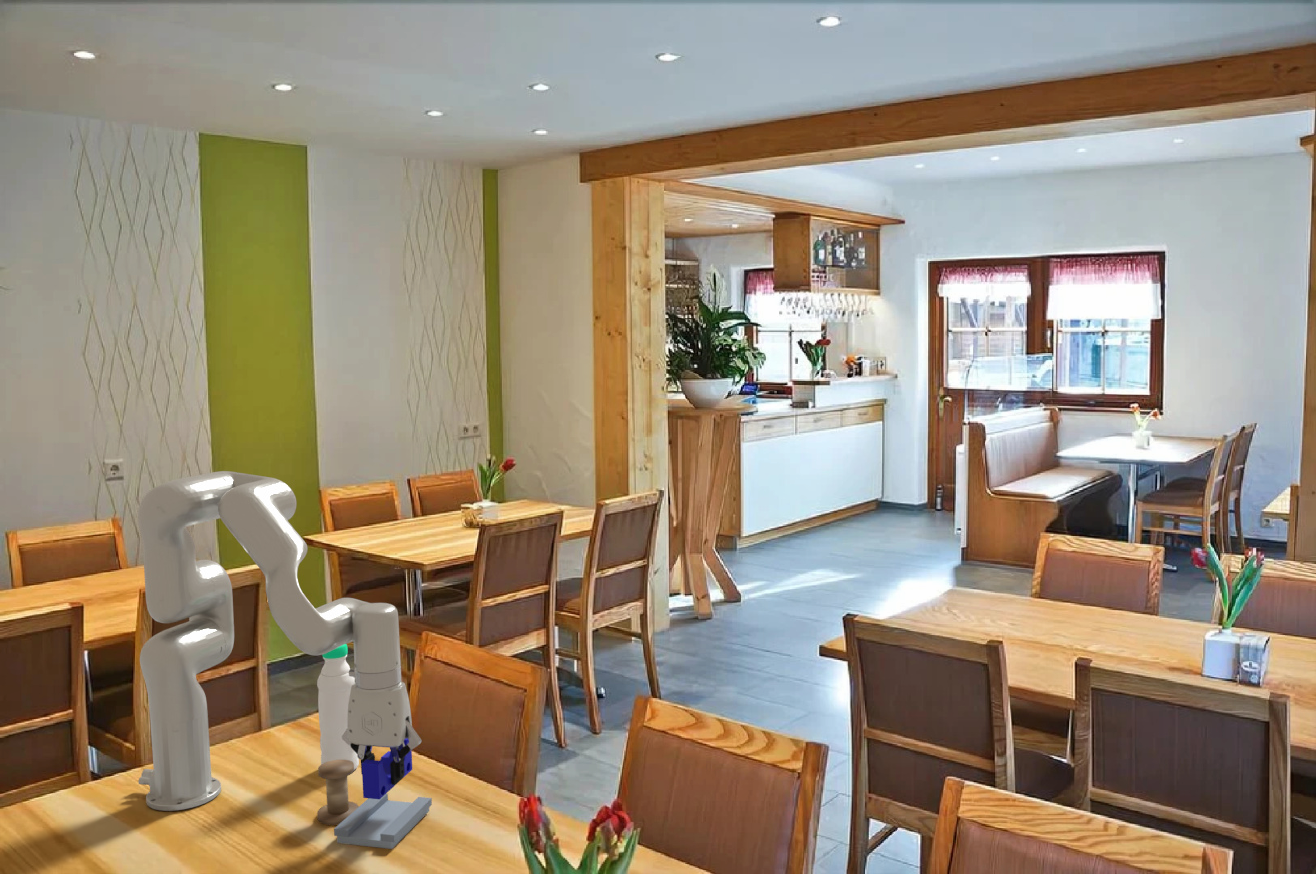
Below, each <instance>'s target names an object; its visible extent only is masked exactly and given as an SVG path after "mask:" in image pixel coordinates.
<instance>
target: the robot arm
mask: <svg viewBox="0 0 1316 874" xmlns="http://www.w3.org/2000/svg"><path fill="white" fill-rule="evenodd" d="M137 509H138V510H137V523H138V529H139V534H140V538H141V542H142V548H143V549H142V551H143V570H144V571H143V572H144V588H145V589H144V591H145V593H144V594H145V603H146V608H147V609H146V610H147V611H148V614H149V616H150V617H151V618H152V619H153V620H154V621H155V622H157V623H161V624H172V623H175V622H176V623H177V622H179V621H183V620H186V619H188V618H189V619H188V620H189V621H186V622H184V623H181V624H177V625H175V626H171V627H170V628H166V629H163V630H162V631H160V632H158V633H156V634H155V635H153V636H151V637H150V638H149V639H148V640H147V641H146V642H145V643H144V644H143V646H142V648H141V651H140V653H139V663H140V668H141V669H140V670H141V672H142V676H143V679H144V682H145V686H146V691H147V692H146V693H147V698H148V699H147V700H148V707H149V709H148V710H149V720H150V734H151V748H152V749H151V750H152V764H153V769H151V768H144V769H143V770H142V772H141V776H140V777H138V781H137V783H138V784H139V785H143V786H147V785H148V786H149V791H148V793H146V797H145V800H146V801H145V802H146V805H147V806H148V807H149V808H151V809H153V810H157V811H161V812H162V811H163V812H164V811H165V812H168V811H169V812H173V811H181V810H188V809H192V808H196V807H198V806H201V805H203V804H206V803H208V802H211V801H212V800H215V798H216V797H218V796H219V794H220V793H221V791H222V784H221V782H220V780H218V779H217V778H215V777H212V764H211V763H212V762H211V749H210V748H211V747H210V746H211V745H210V733H209V717H208V715H209V714H208V713H209V712H208V703H207V697H206V694H205V691H204V689H203V687H202V686H201V685H200V683H199V681H198V680H197V675H199V674H200V673H201V672H204V671H206V670H208V669H210V668H212V667H215V666H216V665H219V664H221V663H223V662H224V661H225V660H227V659H228V658H229V656H230V655H231V653H232V650H233V648H234V642H235V623H234V622H235V621H234V620H235V619H234V602H233V601H234V600H233V587H232V581H231V579H230V577H229V574H228V573H227V571H226V569H225V568H224V567H223V566H222V565H220V564H219V563H218V562H216V561H215V560H211V559H199V560H197V559H196V556H197V555H196V554H197V553H196V551H197V550H196V544H195V541H194V539H193V537H192V535H191V533H190V531H189V530H188V529H187V527H190V526H194V525H199V524H203V523H206V522H211V521H214V520H218V519H220V520H221V521H222V523H223V524H224V525H225V527H226V528H227V529H228V531H229V533H231V534H232V536H233V537H234V538H235V540H236V541H237V542H238V544H240V546H242V548H243V549H244V550H245V552H246V553H247V554H248V555H249V556H250V558H251V559H252V560H253V562H254V563H255V565H256V566H257V567H258V568H259V569H260V570H261V572H262V573H263V575H264V577H265V593H266V599H267V604H268V607H269V608H268V609H269V611H270V614H271V616H272V618H273V620H274V621H275V623H276V624H277V626H278V627H279V628H280V629H281V630H282V632H283V633H284V634H285V636H286V637H287V638H288V639H289V641H290V642H291V643H292V644H293V645H294V646H295V647H296V648H297V649H298V650H300V652H303V653H305V654H306V655H309V656H314V657H315V656H322V655H323V654H325V653H327V652H330V651H332V650H334V649H336V648H338V647H340V646H342V645H344V644H347V645H348V644H349V643H352V642H353V657H354V658H353V659H354V668H350V670H349V676H351V677H354V678H355V684H354V685H352V686H351V690H350V696H349V704H348V721H347V729H346V731H345V732H344V734H343V735H342V739H343V740H344V741H345V742H346V743H347V744H348V745H350V746H351V748H352V749H353V750H354V751H355V752H356V753H357V757H358V759H359V761H360V769H361V770H360V773H361V775H362V763H363V762H364V761H365V760H376V758H375V757H376V755H375V753H374V752H372V751H373V747H377V748H389V750H390V751H391V754H392V758H393V761H392V762H391V763H390V770H391V784H392V785H395V786H396V785H397V784H398V783H399V782H401V781H402V780H403V779H404V778H405V777H404V774H405V770H404V757H405V756H406V755H407V754H408V753H409V752H410V751H411V750H412V751H413V750H414V749H415V748H417V747H418V746H419V745H420V744H421V743H422V741H423V740H422V739H421V737H420V736H419V734H418V733H417V731H416V730H415V729H414V726H413V725H412V724H413V721H412V712H411V711H412V710H411V705H410V704H411V703H410V699H409V694H408V691H407V690H408V689H407V687H406V683H405V682H402V667H401V646H400V626H399V620H400V619H399V612H398V608H397V607H396V606H395V605H393V604H391V603H387V602H368V601H363V600H360V599H357V598H353V597H341V598H338V599H336V600H333V601H330V602H328V603H325V604H323V605H320V606H319V607H314V605H313V604H312V603H311V602H310V600H309V599H308V598H307V597H306V594H304V593H303V591H302V589H301V586H300V584H299V579H298V569H299V565H300V563H302V561H303V560H304V559H305V557H306V556H307V553H308V545H307V543H306V542H305V540H304V539H303V537H301V535H300V534H299V533H298V532H297V531H296V530H295V527H293V525H292V524H291V523H290V522H289V520H291V518H293V516H294V514H295V513H296V509H297V498H296V495H295V493H294V491H293V489H292V488H291V487H290V486H289V485H288V484H287V483H285V482H284V481H282V480H280V479H278V478H275V477H268V476H264V475H263V476H262V475H256V474H248V473H243V472H236V471H229V470H228V471H227V470H222V471H221V470H220V471H214V472H213V471H212V472H208V473H203V474H198V475H191V476H186V477H181V478H176V479H173V480H168V481H166V482H163V483H161V484H158V485H157V486H154V487H153V488H151V489H150V490H148V491H147V492H146V493H145V495H144V496H143V497H142V499H141V500H140V502H139V506H138V508H137ZM406 738H408V740H409V743H408V744H407V745H405V744H404V739H406ZM403 777H404V778H403Z"/></svg>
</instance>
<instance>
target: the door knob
mask: <svg viewBox="0 0 1316 874" xmlns="http://www.w3.org/2000/svg"><path fill="white" fill-rule="evenodd" d="M317 769H318V770H317V772H318V777H320V779H324V780H325V786H326V788H325V789H326V791H325V792H326V804H325V805H323V806H321V807H320V808H319V809H318V810H317V815H316V816H317V821H318V822H319V823H320V824H323V825H327V826H335V825H337V826H338V825H339V824H340V823H341V822H342V821H343V820H344V819H346V818H347V817H348V816H349V815H350V814H351V813H352V812H354V811H355V810H356V809H357V808H358V807H359V806H360V805H358V804H357V803H356V802H353V801H349V784H348V782H349V781H348V776H351V774H353V773H354V772H355V770H354V763H353V762H352V761H350V760H343V759H340V760H332V761H328V762H325V763H323V764H322V765H321V764H320V765H319V766H318V768H317Z"/></svg>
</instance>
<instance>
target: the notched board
mask: <svg viewBox="0 0 1316 874" xmlns="http://www.w3.org/2000/svg"><path fill="white" fill-rule="evenodd" d="M432 799H433V798H432V797H425V796H418V797H417V798H416V799H415V800H414V801H413V802H412V801H411V802H410V801H399V800H389V794H388V793H386V794H385V795H384V796H383V797H382V798H381V799H370V798H366V800H364V802H362V804H360V805H358V806H359V807H358V808H357V809H356V810H355V811H354V812H352V813H351V814H350V815H349V816H348V817H347V818H346V819H344V820H343V821H342V822H341V823H340V824H338V825H337V826H335V827H334V828H333V835H334V836H335V837H336V843H338V844H344V845H351V846H352V845H353V846H360V847H361V846H362V847H363V846H364V847H370V848H371V847H372V848H380V849H389V850H392V849H394V848H395V846H397V844H399V843H400V842H401V840H402V839H404V837H406V835H408V833H409V832H410V831H411V830H412V829H413V828H414V827H416V825H417V824H418V823H419V822H420V821H421V820H422V819H423V818H424V817H425V816H426V815H427V814H428V813H429V812H430V807H431V806H432V805H433V804H432V801H433V800H432Z"/></svg>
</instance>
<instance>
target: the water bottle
mask: <svg viewBox="0 0 1316 874" xmlns="http://www.w3.org/2000/svg"><path fill="white" fill-rule="evenodd" d="M348 648H349V647H348V643H347V644H344V645H342V646H340V647H338V648H336V649H334V650H332V651H330V652H327V653H325V654H323V655H321V656H322V659H323V660H324V665H323V666H322V668H321V672H320V673H319V676H318V677H317V681H316V685H317V689H318V692H317V693H318V694H317V695H318V696H317V697H318V698H317V699H318V702H317V705H318V706H317V708H318V722H319V730H320V738H319V743H320V745H319V746H320V751H321V755H320V765H322V764H323V763H325V762H328V761H332V760H340V759H343V760H350V761H352V762H353V763H354V771H355V770H356V769H357V768H359V764H360V759H358V757H357V753H356V752H355V751H354V750H353V749H352V748H351V746H350V745H348V744H347V743H346V742H345V741H344V740H343V739H342V735H343V734H344V732H345V731H346V729H347V721H348V704H349V696H350V690H351V686H352V685H354V684H356V683H355V678H354V677H351V676H349V670H350V669H351V668H350V665H349V663H348V662H347V660H346V659H347V657H348Z"/></svg>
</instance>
